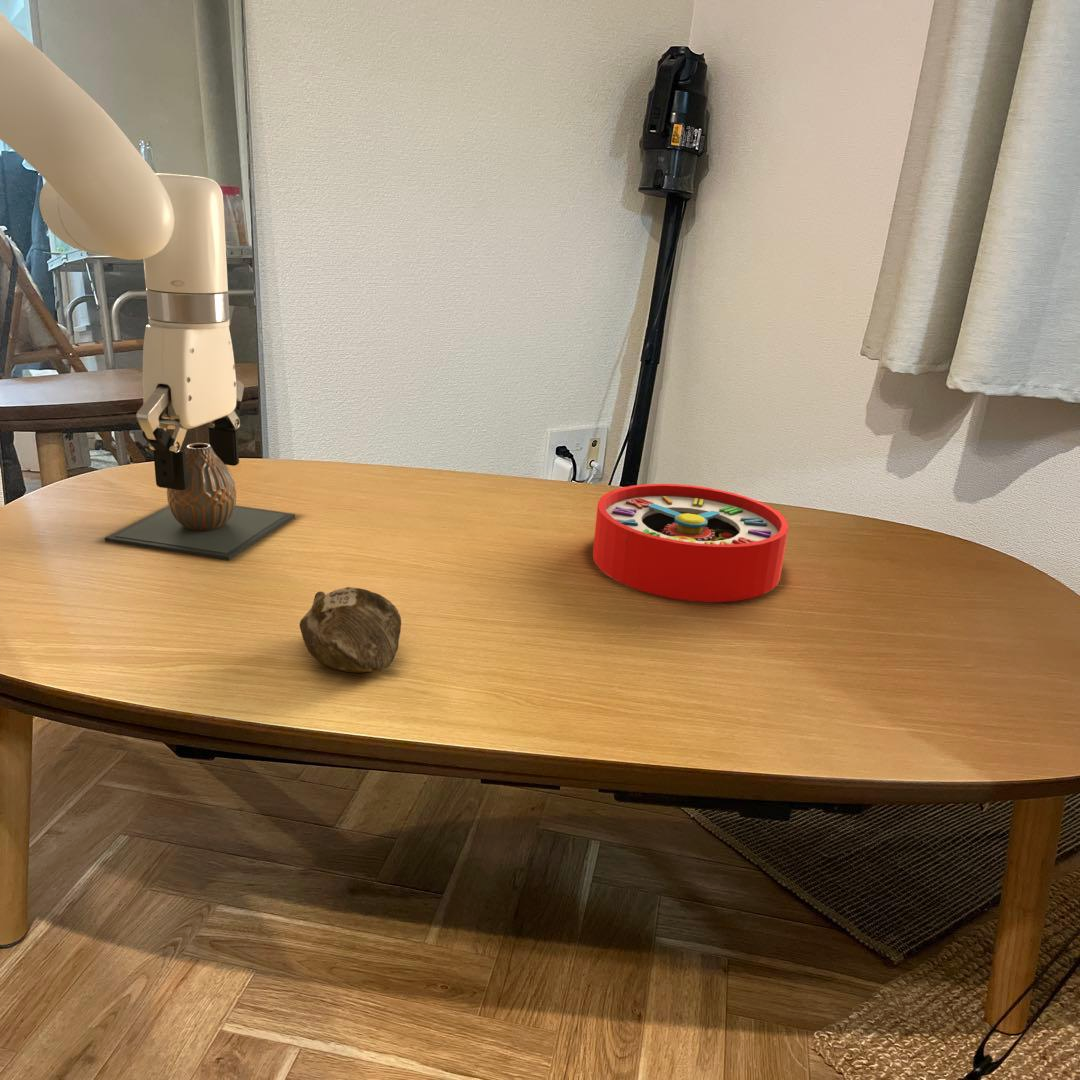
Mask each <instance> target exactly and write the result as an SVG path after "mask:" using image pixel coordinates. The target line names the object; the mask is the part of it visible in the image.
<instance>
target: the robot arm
mask: <svg viewBox="0 0 1080 1080" xmlns="http://www.w3.org/2000/svg"><path fill="white" fill-rule="evenodd" d="M0 141H2V142H3V143H4V144H5V145H7V146H8V147H9V148H11V149H12V150H13V151H14V152H16V153H17V154H18V155H19V156H20V157H21V158H22V159H23V160H24V161H26V163H28V164H29V165H30V166H31V167H32V168H33V169H34V170H35V171H36V172H37V173H38V174H39V176H41V177H42V178H43V179H44V180H45V182H44V184H43V186H42V188H41V190H40V193H39V203H38V204H39V205H38V206H39V210H40V214H41V217H42V220H43V222H44V224H45V225H46V227H47V228H48V229H49V230H50V232H51V233H52V234H53V235H54V236H55V237H56V238H57V239H58V240H60V241H61V242H62V243H64V244H66V245H67V246H70V248H71V247H72V248H74V249H76V250H79V251H83V252H86V253H91V254H95V255H101V256H108V257H111V258H116V259H122V260H127V261H140V260H143V269H144V270H143V271H144V281H145V288H146V289H145V293H146V306H147V307H146V308H147V317H148V324H146V325H145V330H144V337H143V345H142V346H143V348H142V398H143V399H142V401H143V404H142V405H141V407H140V408H139V409H138V410H137V411H136V415H135V417H136V420H137V422H138V424H139V427H140V429H141V431H142V437H143V438H144V439H145V441H147V443H148V448H149V449H150V450H152V451H153V463H154V474H155V475H154V476H155V485H156V486H157V487H158V488H162V489H167V488H169V489H176V490H184V489H186V488H187V487H188V482H187V468H186V454H185V450H181V448H182V446H183V443H184V440H185V438H186V434H187V432H188V430H191V429H195V428H198V427H200V426H203V425H207V424H208V423H210V424H211V426H208V428H207V429H208V444H209V445H211V447H212V449H213V451H214V452H215V454H216V455H217V456H218V457H219V458H220V460H221V461H222V462H223V463H224V464H225V465H226V466H231V467H232V466H233V467H236V466H237V465H239V464H240V451H239V450H240V449H239V431H238V429H239V428H240V426H241V420H240V418H239V416H240V414H241V412H242V409H243V404H242V400H243V396H244V390H245V384H244V383H243V382H242V381H240V380H239V379H237V375H236V364H235V357H234V356H235V355H234V349H233V342H232V336H231V331H230V327H229V326H231V324H230V304H229V302H230V301H229V285H228V283H229V281H228V265H227V247H226V246H227V245H226V225H225V224H226V223H225V204H224V195H223V190H222V188H221V186H220V185H219V184H218V183H217V182H216V181H215V180H214V179H211V178H209V177H204V176H197V175H188V174H174V173H173V174H172V173H155V171H154V170H153V168H152V167H151V166H150V164H149V163H148V162H147V161H146V160H145V159H144V157H143V156H142V154H141V153H140V152H139V151H138V150H137V148H136V147H135V145H134V144H133V143H132V142H131V140H130V139H129V138H128V136H127V135H126V134H125V133H124V132H123V131H122V130H121V128H120V127H119V126H118V124H117V123H116V122H115V121H114V120H113V118H111V116H110V115H109V114H108V113H107V112H106V111H105V110H104V109H103V108H102V107H101V106H100V105H99V103H97V101H96V100H95V99H93V98H92V96H90V95H89V93H87V92H86V91H85V90H84V89H83V88H82V87H81V86H80V85H78V84H77V83H76V82H75V80H73V79H72V78H70V77H69V76H68V74H66V73H65V72H64V71H63V70H62V69H61V68H59V66H57V65H56V64H55V63H54V62H53V61H52V60H51V59H50V58H49V57H48V56H47V55H46V54H45V53H43V51H42V50H41V49H40V48H38V47H37V46H36V45H35V44H33V43H32V42H31V41H30V40H29V39H27V38H26V37H25V36H24V35H23V34H22V33H21V32H20V31H19V30H17V28H16V27H15V26H14V25H13V24H12V23H11V22H10V21H9V20H8V18H7V17H6V16H5V15H4V14H3V12H2V11H1V10H0ZM167 430H173V432H172V435H171V436H170V434H169V433H168V432H167Z"/></svg>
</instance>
